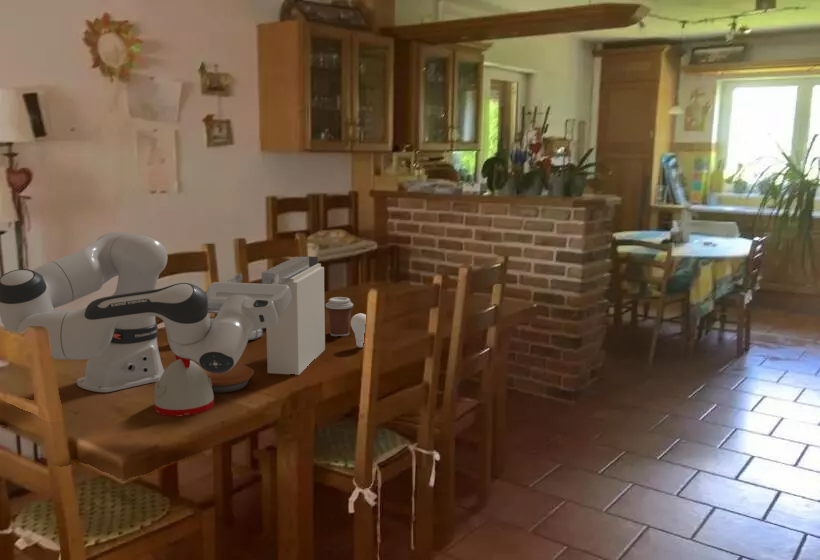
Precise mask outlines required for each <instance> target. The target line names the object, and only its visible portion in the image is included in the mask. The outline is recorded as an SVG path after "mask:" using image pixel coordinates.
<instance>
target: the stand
mask: <svg viewBox="0 0 820 560" xmlns="http://www.w3.org/2000/svg"><path fill="white" fill-rule="evenodd" d="M301 257H309V268H308V269H307V270H305V271H303V272H301V273H299V274H297V275H295V276H294V277H292V278H290V281H289V282H287V283H286V284H285V285H288V286H289V288H290V291H291V295H292V297H291V301H290V303H289V305H288V307H287V309H286V310H285V312H284V313H283V314H282V315H281V316H279V317H278V324H277V325H276V326H272V327H267V328H265V330H266V360H267V362H266V364H267V374H277V375H290V374H295V375H294V376H300V375H301V374H302V372H303V371H305V369H307V368H308V367H309V366H310V365H311V364H312V363H313V362H314V361H315V360H316V359H317V358H318V357H319V356H320V355H321V354H322V353H323V352H324V351H325V350H326V333H325V332H326V329H325V328H326V324H325V323H326V320H325V319H326V317H325V310H326V309H325V267H324V266H322V263H319V257H318V256H309V255H308V256H306V255H304V256H303V255H302V256H301ZM314 359H315V360H314ZM313 360H314V361H313ZM312 361H313V362H312ZM311 362H312V363H311ZM310 363H311V364H310ZM309 364H310V365H309ZM307 366H308V367H307Z"/></svg>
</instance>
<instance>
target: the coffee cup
mask: <svg viewBox="0 0 820 560" xmlns="http://www.w3.org/2000/svg"><path fill="white" fill-rule="evenodd" d="M325 307H326V308H327V316H328V323H329V324H328V325H329V334H330V336H331V337H337V336H341V337H347V336H349V335H350V327H351V319H352V317H351V315H352V308H353V307H354V303H353V302H352V301H351V298H349V297H343V296H336V297H331V298H329V299H328V302H327V303H325Z"/></svg>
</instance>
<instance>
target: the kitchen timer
mask: <svg viewBox="0 0 820 560" xmlns="http://www.w3.org/2000/svg"><path fill="white" fill-rule="evenodd" d="M174 356H175V357H174V358H175V360H174V361H173V362H172V363H170V364H169V365H168V366H166V368H165V369H164V372H163V374H162V376H161V378H160V380H159V381H156V382H154V384H155V385H154V398H153V399H154V401H153V405H154V407H153V409H154V411H155V413H157V412H158V414H159V413H160V414H159V415H161V414H164V415H163V416H165V415H173V416H172V417H177V416H176V415H189V416H192V415H191V414H195V415H197V414H196V413H199V414H202V413H205V412H207V411H210V410H211V409H212V408H213V407H214V406H215V395H214V392H213V390H212V383H211V378H208V376H207V374H206V373H205V372H204V371H203V370H202V369H201V368H202V367H201V366H200V365H199V364H197V362H196V361H194V360H190V359H184V358H180V357H178V356H176V355H175V354H174ZM210 408H211V409H210ZM204 411H205V412H204ZM201 412H202V413H201Z"/></svg>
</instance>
